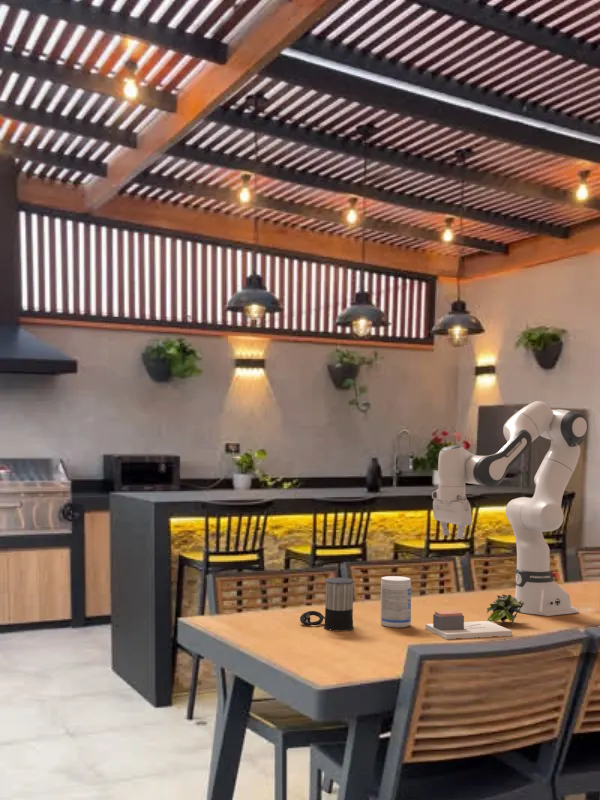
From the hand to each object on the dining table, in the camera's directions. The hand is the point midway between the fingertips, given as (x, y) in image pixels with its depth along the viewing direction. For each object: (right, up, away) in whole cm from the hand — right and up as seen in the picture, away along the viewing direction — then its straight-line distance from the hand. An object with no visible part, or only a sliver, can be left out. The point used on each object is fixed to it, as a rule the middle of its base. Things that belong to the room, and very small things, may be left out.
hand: (452, 536), depth 277 cm
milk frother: (-42, -26, -17) cm, 52 cm away
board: (+1, -26, -20) cm, 33 cm away
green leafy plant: (+16, -27, -7) cm, 32 cm away
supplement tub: (-20, -26, -12) cm, 35 cm away
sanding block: (-5, -24, -22) cm, 33 cm away
